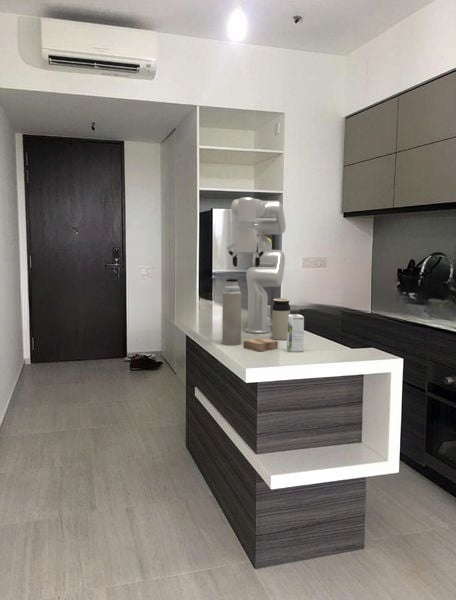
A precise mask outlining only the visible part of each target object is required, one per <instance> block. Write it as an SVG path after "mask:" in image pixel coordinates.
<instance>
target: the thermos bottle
mask: <svg viewBox="0 0 456 600" xmlns="http://www.w3.org/2000/svg"><path fill="white" fill-rule="evenodd" d="M225 281H226V284H225V286H224V289H223V292H222V344H223V345H225V346H239V345H241V344H242V292H241V287H240V286H239V283H238V279H236V278H227V279H225Z"/></svg>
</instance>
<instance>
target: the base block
mask: <svg viewBox="0 0 456 600" xmlns="http://www.w3.org/2000/svg"><path fill="white" fill-rule="evenodd" d="M278 341H279V340H274V339H273V340H272V339H269V338H263V337H258V338H252V339H245V340H243V346H242V347H243V348H244V349H247V350H251V351H254V352H255V351H256V352H259V353H261V352H266V351H273V350H278V344H279V342H278Z"/></svg>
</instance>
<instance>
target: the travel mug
mask: <svg viewBox="0 0 456 600" xmlns="http://www.w3.org/2000/svg"><path fill="white" fill-rule="evenodd" d="M272 300H273V305H272V309H271V310H272V315H271V316H272V318H271V319H272V320H271V321H272V326H271V327H272V329H271V333H272V334H271V337H272V339H273V340H275V341H287V330H288V315H291V305H290V304H289V303H290V301H291V299H289V298H273V299H272Z"/></svg>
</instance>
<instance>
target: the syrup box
mask: <svg viewBox="0 0 456 600" xmlns="http://www.w3.org/2000/svg"><path fill="white" fill-rule="evenodd" d="M304 329H305V317H304V316H303V315H302V314H293V313H292V314H291V313H290V315H288V330H287V340H286V349H287V351H288V352H289V353H291V352H292V353H295V352H298V353H299V352H303V351H304V331H305V330H304Z"/></svg>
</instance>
